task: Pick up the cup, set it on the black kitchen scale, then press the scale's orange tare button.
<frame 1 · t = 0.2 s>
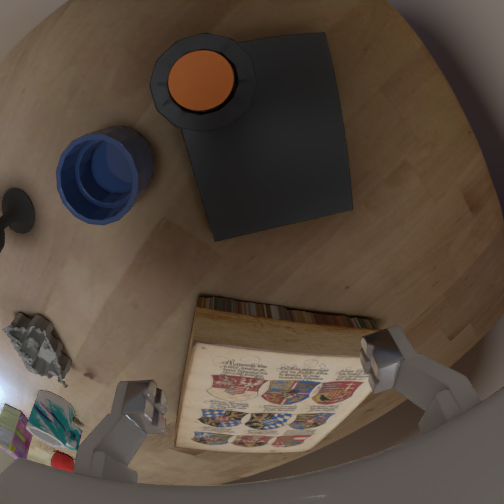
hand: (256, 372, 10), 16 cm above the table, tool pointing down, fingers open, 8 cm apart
apple: (64, 454, 57), on the table
scale: (265, 134, 21), on the table
box: (20, 416, 44), on the table
egg carton: (43, 339, 30), on the table
tare button: (201, 80, 16), point 4 cm above the table, slide at 0.2 cm
sundae: (18, 209, 22), on the table
mug: (62, 407, 40), on the table
cup: (118, 164, 21), on the table
book: (273, 382, 37), on the table
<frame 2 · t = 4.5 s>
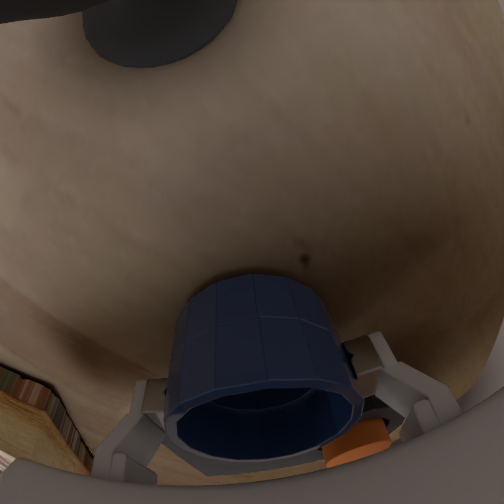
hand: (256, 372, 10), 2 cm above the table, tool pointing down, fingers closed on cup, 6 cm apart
scale: (274, 435, 18), on the table
tare button: (355, 444, 13), point 4 cm above the table, slide at 0.2 cm
sundae: (159, 0, 6), on the table
cup: (252, 328, 12), on the table, touching gripper
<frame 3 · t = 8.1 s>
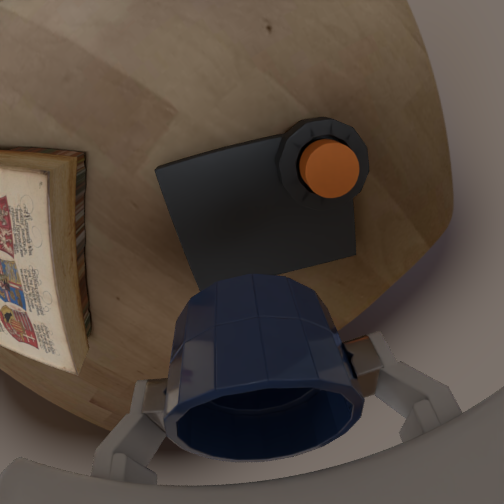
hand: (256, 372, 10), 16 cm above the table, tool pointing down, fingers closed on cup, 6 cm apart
scale: (264, 209, 24), on the table
tare button: (329, 168, 19), point 4 cm above the table, slide at 0.2 cm
cup: (252, 328, 12), point 14 cm above the table, touching gripper
when the fingers open (3 cm above the table, at t = 11.7 s): cup stays where it is, resting on scale.
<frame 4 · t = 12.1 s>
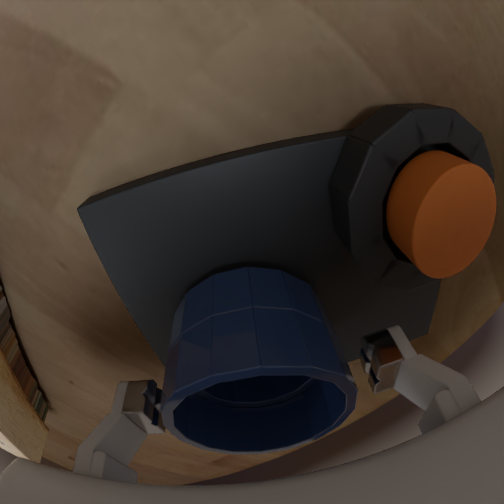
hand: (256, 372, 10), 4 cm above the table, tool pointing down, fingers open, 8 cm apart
scale: (296, 276, 13), on the table
tare button: (444, 214, 8), point 4 cm above the table, slide at 0.2 cm
cup: (249, 322, 12), point 1 cm above the table, touching scale
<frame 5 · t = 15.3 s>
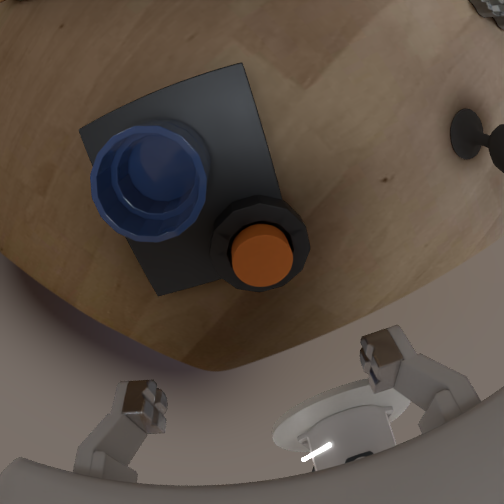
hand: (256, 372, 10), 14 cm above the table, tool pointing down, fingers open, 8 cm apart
scale: (191, 188, 20), on the table
tare button: (261, 255, 20), point 4 cm above the table, slide at 0.2 cm
sundae: (465, 134, 19), on the table
cup: (163, 165, 18), point 1 cm above the table, touching scale
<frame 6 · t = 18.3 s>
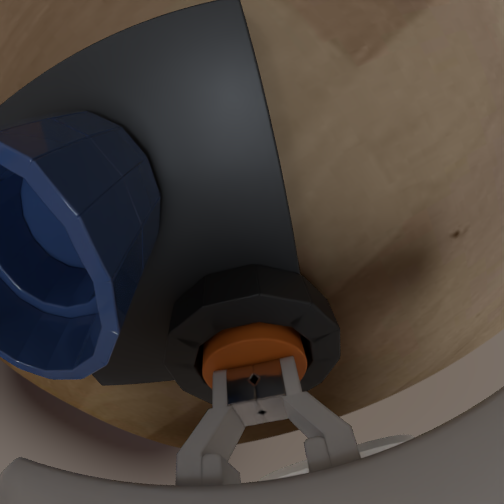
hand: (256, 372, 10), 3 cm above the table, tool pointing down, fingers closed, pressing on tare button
scale: (134, 240, 11), on the table
tare button: (253, 357, 11), point 3 cm above the table, slide at -0.8 cm, touching gripper
cup: (78, 201, 9), point 1 cm above the table, touching scale
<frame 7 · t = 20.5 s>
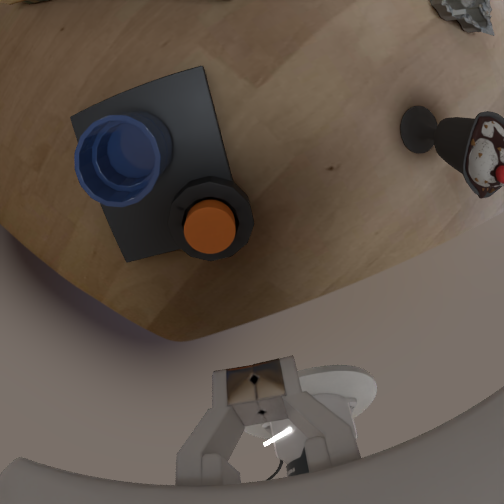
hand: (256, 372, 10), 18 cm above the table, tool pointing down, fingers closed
scale: (158, 169, 23), on the table
tare button: (209, 226, 23), point 4 cm above the table, slide at 0.1 cm
sundae: (418, 129, 23), on the table
cup: (135, 148, 21), point 1 cm above the table, touching scale
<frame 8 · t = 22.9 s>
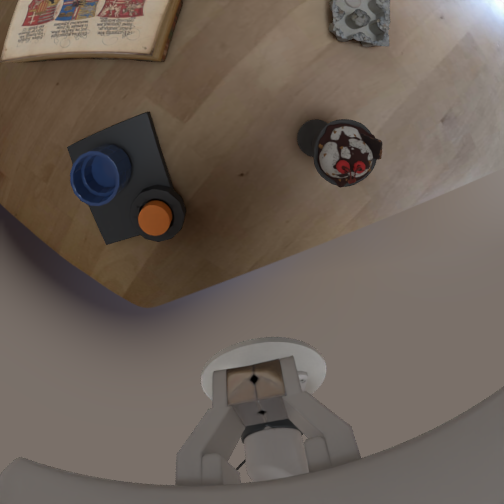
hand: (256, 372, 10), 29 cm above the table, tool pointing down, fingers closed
scale: (125, 180, 34), on the table
egg carton: (353, 12, 25), on the table
tare button: (155, 218, 34), point 4 cm above the table, slide at 0.1 cm
sundae: (315, 138, 34), on the table
cup: (109, 168, 32), point 1 cm above the table, touching scale
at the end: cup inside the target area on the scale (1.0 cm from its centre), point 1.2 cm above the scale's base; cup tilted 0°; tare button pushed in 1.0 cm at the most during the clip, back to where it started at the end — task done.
